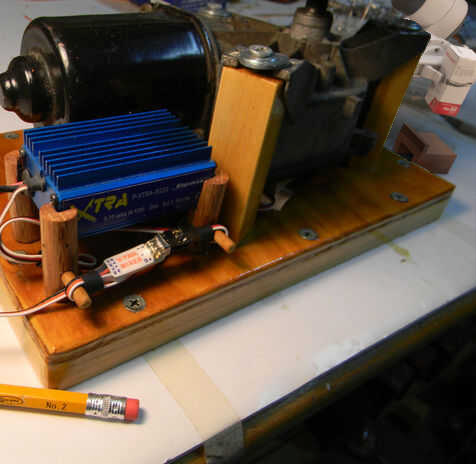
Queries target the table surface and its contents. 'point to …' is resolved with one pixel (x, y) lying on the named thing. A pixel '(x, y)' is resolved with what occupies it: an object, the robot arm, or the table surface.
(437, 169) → the dark brown wooden box
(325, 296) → the table surface
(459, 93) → the ink box
